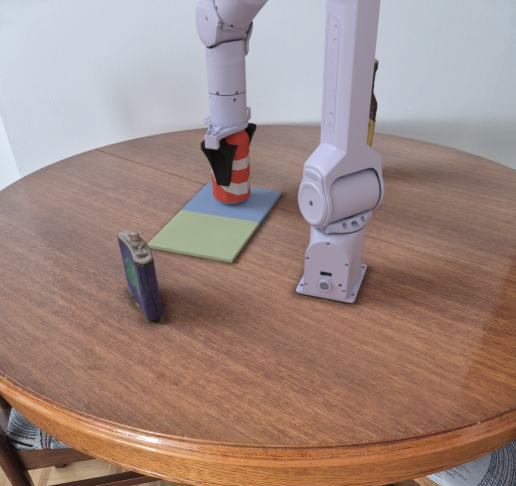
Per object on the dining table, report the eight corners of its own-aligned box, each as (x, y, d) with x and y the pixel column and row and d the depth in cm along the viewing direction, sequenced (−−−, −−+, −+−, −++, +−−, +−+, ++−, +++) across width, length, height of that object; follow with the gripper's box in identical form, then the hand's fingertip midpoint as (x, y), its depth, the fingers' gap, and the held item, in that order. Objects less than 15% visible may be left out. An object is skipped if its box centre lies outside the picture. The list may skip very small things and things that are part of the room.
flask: (125, 289, 75) (111, 218, 68) (146, 283, 76) (134, 213, 69) (148, 326, 69) (135, 252, 62) (170, 319, 70) (159, 246, 63)
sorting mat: (231, 263, 80) (231, 259, 79) (147, 247, 83) (146, 244, 83) (281, 194, 97) (281, 191, 96) (209, 184, 100) (209, 181, 100)
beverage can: (238, 209, 90) (234, 136, 82) (206, 201, 93) (200, 129, 85) (257, 195, 94) (255, 124, 86) (226, 187, 97) (222, 118, 89)
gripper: (221, 75, 88) (225, 157, 97) (182, 102, 78) (191, 191, 87) (262, 79, 87) (262, 162, 95) (228, 106, 76) (232, 197, 85)
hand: (231, 176), depth 91 cm, fingers closed on beverage can, 6 cm apart
